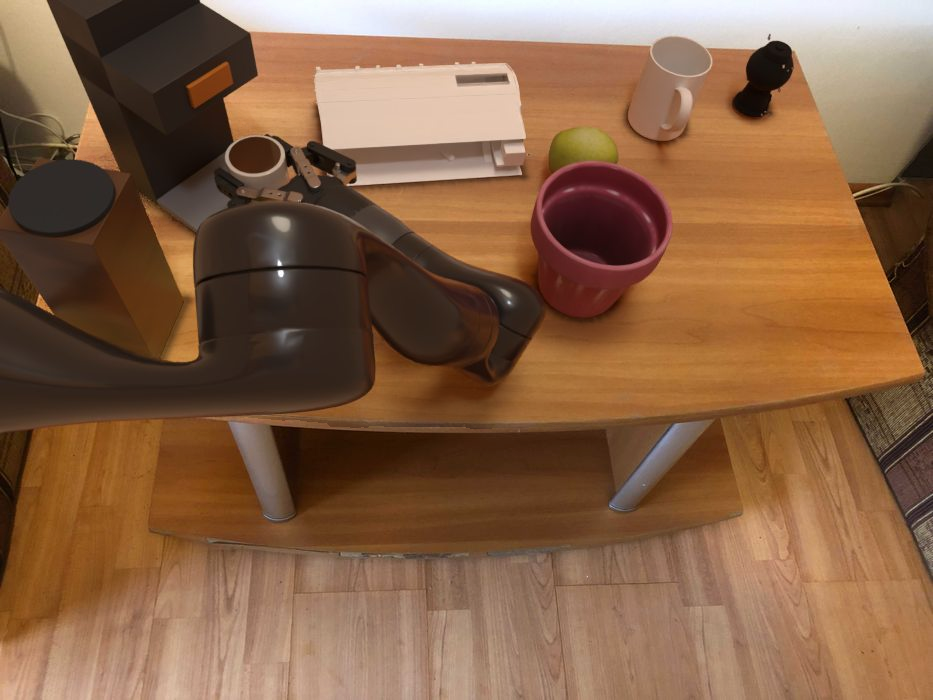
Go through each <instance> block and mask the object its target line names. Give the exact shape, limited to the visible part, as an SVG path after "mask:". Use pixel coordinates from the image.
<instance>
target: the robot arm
mask: <svg viewBox="0 0 933 700" xmlns="http://www.w3.org/2000/svg"><path fill="white" fill-rule="evenodd" d="M263 136H268V137H271V138H273V139H275V140H276V141H278V142H279V143H280V144H281V145H282V147H283V148H284V151H285V156H286V162H287V168H290V167H292V170H293V172H294V174H295V175H294V176H293V177H292V178H291V179H289V180H290V181H289V183H288V184H286V185H284V186H282V187H280V188H279V189H277V190H275V189H270V188H265V187H263V188H261V189H260V190H259V189H254V188H249V187H244V183H242V182H241V181H239V180H238V179H236V178H235V177H233V176H232V175H231V174H229V173H228V172H226V171H225V170H223V169H222V168H220V167H219V168H217V169H216V170H215V171H214V175H215V177H214V180H215V183H216V186H217V189H218V190H219V191H220V192H221V193H223V194H224V195H226V196H227V197H228V198H230V199H231V200H230V201H228V203H227V206H228V208H226V209H224V210H221V211H219V212H217V213H215V214H212V215H211V216H209V217H208V218H206V219H205V220H204V221H203V222H202V223H201V225H200V226H199V227H198V230H197V232H196V233H195V236H194V240H193V251H192V273H193V275H192V277H193V285H194V286H193V287H194V301H195V312H196V313H195V314H196V325H197V326H196V327H197V343H198V346H197V347H198V355H197V357H196V358H195V359H192V360H190V361H174V360H169V359H164V358H160V357H159V358H156V357H152V356H149V355H145V354H142V353H139V352H136V351H133V350H130V349H127V348H124V347H122V346H119V345H116V344H114V343H111V342H109V341H106V340H104V339H101V338H99V337H96V336H94V335H91V334H89V333H87V332H85V331H83V330H81V329H79V328H77V327H75V326H73V325H71V324H69V323H67V322H65V321H64V320H62V319H60V318H58V317H56V316H55V315H54V314H53V313H51V312H50V311H47V310H46V309H44V308H42V307H40V306H39V305H36V304H34V303H32V302H31V301H29V300H27V299H25V298H24V297H22V296H19V295H17V294H15V293H13V292H11V291H9V290H7V289H4V288H3V287H0V434H6V433H7V434H8V433H14V432H24V431H31V430H38V429H46V428H54V427H62V426H73V425H83V424H84V425H85V424H97V423H110V422H112V423H113V422H132V421H152V420H177V419H179V420H180V419H200V418H224V417H249V416H251V417H252V416H269V415H270V416H271V415H284V414H285V415H287V414H297V413H306V412H307V413H308V412H315V411H322V410H327V409H332V408H337V407H341V406H345V405H348V404H351V403H353V402H355V401H358V400H360V399H362V398H364V397H365V396H366V395H368V394H369V393H370V392H371V391H372V389H373V387H374V385H375V382H376V368H377V367H376V355H375V354H376V353H375V342H374V333H375V334H376V336H377V337H379V339H380V340H382V342H383V343H384V344H385V345H386V346H387V347H388V348H389V349H390V350H392V352H394V353H395V354H397V355H399V356H400V357H401V358H402V359H404V360H407V361H409V362H411V363H414V364H416V365H421V366H426V367H441V368H442V367H445V368H446V367H451V368H453V369H454V371H456V372H457V374H459V375H461V376H462V377H463V378H465V379H467V380H469V381H470V382H472V383H474V384H476V385H480V386H483V387H492V386H496V385H498V384H500V383H502V382H503V381H505V380H506V379H507V378H508V377H509V376H510V374H511V373H512V371H513V370H514V369H515V367H516V365H517V364H518V362H519V361H520V359H521V357H523V355H524V353H525V351H526V350H527V348H528V347H529V345H530V343H531V342H532V340H533V338H534V337H535V335H537V332H538V331H539V330H540V328H541V326H542V325H543V322H544V321H545V318H546V314H547V311H546V310H547V309H546V304H545V300H543V299H544V298H543V297H542V295H541V294H540V293H539V291H537V289H536V288H534V286H532V285H531V284H529V283H528V282H526V281H524V280H522V279H519V278H517V277H513V276H511V275H506V274H503V273H499V272H496V271H492V270H488V269H485V268H481V267H479V266H476V265H473V264H471V263H467V262H465V261H463V260H461V259H458V258H456V257H454V256H452V255H450V254H449V253H447V252H445V251H443V250H442V249H440V248H438V247H437V246H435V245H434V244H432V243H431V242H430V241H427V239H425V238H424V237H422V236H420V235H419V234H417V233H416V232H414V231H413V230H412V229H411V228H410V227H409V226H407V225H406V224H405V222H403V221H402V220H400V218H398V217H396V216H395V215H394V214H392V213H390V212H389V211H388V210H386V209H384V208H382V206H380V205H378V204H377V203H375V202H374V201H372V200H371V199H369V198H368V197H366V196H365V195H363V194H361V193H360V192H358V191H357V190H355V189H353V188H352V186H346V185H347V184H348V183H349V184H354V183H356V181H357V174H356V162H355V161H354V160H352V159H350V158H348V157H346V156H344V155H342V154H340V153H338V152H336V151H334V150H332V149H330V148H328V147H326V146H324V145H323V143H322V144H321V143H320V142H318V141H315V140H310V141H308V142H307V144H306V146H304V147H300V146H293V145H291V144H290V143H288V142H287V141H285V140H284V139H283V138H281V137H279V136H276V135H270V134H269V133H266V134H264V135H263ZM314 168H315V169H316V168H317V169H318V170H320V171H323V172H325V173H326V174H327V173H328V174H330V175H332V176H333V177H332V176H327V175H319V174H317V173H316V172H315V170H314ZM251 200H252V201H251ZM255 201H256V202H255ZM373 332H374V333H373Z"/></svg>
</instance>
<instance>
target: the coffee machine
mask: <svg viewBox="0 0 933 700" xmlns="http://www.w3.org/2000/svg"><path fill="white" fill-rule="evenodd" d="M45 1H46V3H47V5H48V7H49V9H50V13H51V14H52V17H53V19H54V21H55V24H56V26H57V28H58V31H59V33H60V35H61V38H62V40H63V42H64V45H65V47H66V49H67V51H68V54H69V57H70V58H71V61H72V63H73V65H74V68H75V70H76V72H77V75H78V77H79V79H80V81H81V84H82V86H83V89H84V90H85V93H86V96H87V98H88V100H89V103H90V105H91V107H92V110H93V112H94V115H95V116H96V119H97V121H98V123H99V125H100V128H101V130H102V132H103V135H104V137H105V139H106V142H107V144H108V146H109V150H110V151H111V154H112V156H113V158H114V161H115V163H116V165H117V167H118V169H119V170H118V171H119V172H125V173H130V174H131V176H132V178H133V181H134V183H135V185H136V188H137V190H138V192H139V193H141V194H142V195H143V196H145V197H146V198H148V199H149V200H150V201H152V202H153V203H154V204H156V205H157V206H158V207H159V208H161V209H163V210H164V211H166V212H167V213H168V214H170V216H172V217H173V218H174V219H176V220H177V221H178V222H180V223H182V224H183V225H184V226H185V227H187V228H188V229H190V230H191V231H192V232H194V233H195V234H196V232H197V230H198V227H199V226H200V225H201V223H202V222H203V221H204V220H205V219H206V218H208V217H209V216H211V215H212V214H215V213H217V212H219V211H221V210H224V209H226V208H228V206H227V203H228V201H230V200H231V199H230V198H228V197H227V196H226V195H224V194H223V193H221V192H220V191H219V190H218V189H217V186H216V183H215V180H214V177H215V175H214V171H215V170H216V169H217V168H219V167H220V168H222V169H223V170H225V171H226V172H228V169H227V166H226V162H225V153H226V151H227V149H228V147H229V146H230V145H231V144H232V143H233V142H235V140H234V137H233V132H232V128H231V124H230V120H229V116H228V112H227V107H226V103H225V98H226V97H228V96H229V95H231V94H232V93H234V92H236V91H237V90H238V89H240V88H241V87H243V86H244V85H246V84H247V83H250V82H251V81H252V80H253V79H255V78H257V77H258V76H259V73H258V67H257V62H256V57H255V52H254V51H255V50H254V46H253V45H254V44H253V39H252V34H251V33H250V32H249V31H248V30H246V29H244V28H243V27H241V26H239V25H238V24H237V23H235V22H233V21H232V20H230V19H228V18H227V17H225V16H223V15H222V14H220V13H218V12H217V11H215V10H214V9H213V8H211V7H209V6H207V5H206V4H204V3H203V2H201V0H45Z"/></svg>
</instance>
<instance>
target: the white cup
mask: <svg viewBox="0 0 933 700" xmlns="http://www.w3.org/2000/svg"><path fill="white" fill-rule="evenodd" d="M225 162H226V166H227V169H228V173H229V174H231V175H232V176H233V177H235V178H236V179H238V180H239V181H241V182H242V183H244V187H249V188H254V189H259V190H260V189H261V188H263V187H265V188H270V189H275V190H277V189H279V188H280V187H282V186H284V185H286V184H288V183H289V181H290V180H291V179H290V176H289V175H290V173H289V169H288V167H287V162H286V156H285V151H284V148H283V147H282V145H281V144H280V143H279V142H278V141H276V140H275V139H273V138H271V137H268V136H264V135H262V134H251V135H246V136H243V137H240V138H238V139H236V140H234V142H233V143H232V144H231V145H230V146H229V147H228V149H227V151H226V153H225ZM251 201H252V200H251ZM255 202H256V201H255Z"/></svg>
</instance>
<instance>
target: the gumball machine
mask: <svg viewBox="0 0 933 700" xmlns="http://www.w3.org/2000/svg"><path fill="white" fill-rule="evenodd" d="M771 35H772V34H771V33H768V36H767V41H769V42H768V43H767V44H765V45H763V46H761V47H759V48H758V49H756V50H755V51H754V52H753V53H751V55H750V56H749V58H748V60H747V63H746V65H745V75H746V81H747V83H746V85H745V86H744V87H743V89H742V90H740V91H738V92H737V93H736V94H735V95H734V97H733V98H732V106H733V108H734V109H735V110H736V111H737V112H738V113H739V114H740V115H742V116H744V117H747V118H752V119H759V118H762V117H764V116H765V115H766V116H767V117H769V116H770V115H771V114H772V111H771V110H769V109H770V108H769V107H770V103H771V102H772V97H773V95H772V91H776V90H777V92H778V93H780V92H781V88H782V87H783V86H785V84H786V83H788V81H789V80H790V78H791V77H792V76H793V75H792V74H793V71H794V69H795V67H794V65H795V64H794V59H793V50H792V49H793V48H792V47H791V46H790V45H789V44H788V43H786V42H785V41H781V40H771V37H772V36H771ZM770 40H771V41H770Z"/></svg>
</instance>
